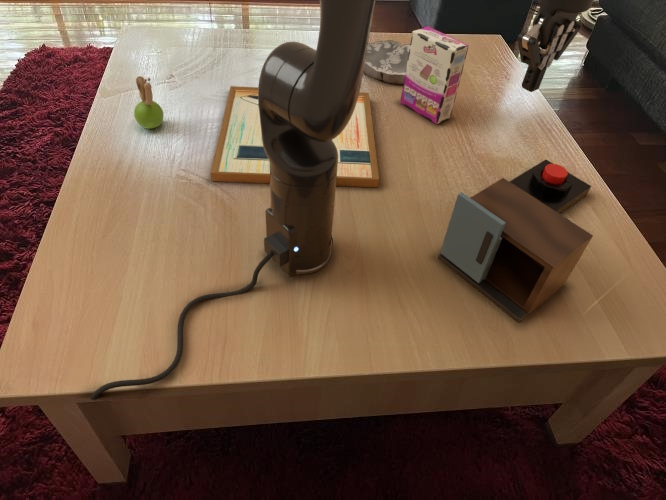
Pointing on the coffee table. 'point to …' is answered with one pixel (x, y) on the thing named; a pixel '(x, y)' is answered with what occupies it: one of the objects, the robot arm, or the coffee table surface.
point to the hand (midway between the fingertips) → (529, 88)
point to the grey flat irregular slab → (387, 61)
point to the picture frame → (252, 162)
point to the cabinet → (525, 250)
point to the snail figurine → (147, 106)
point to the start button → (554, 174)
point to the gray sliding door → (471, 237)
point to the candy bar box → (433, 73)
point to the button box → (551, 188)
